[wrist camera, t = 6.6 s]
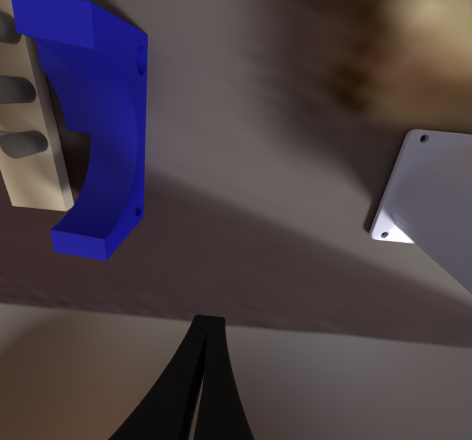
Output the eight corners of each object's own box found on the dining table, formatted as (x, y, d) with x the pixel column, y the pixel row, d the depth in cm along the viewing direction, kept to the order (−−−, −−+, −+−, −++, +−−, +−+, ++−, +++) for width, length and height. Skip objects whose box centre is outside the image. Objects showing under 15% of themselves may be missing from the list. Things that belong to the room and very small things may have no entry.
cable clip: (70, 18, 14) (-34, -27, 9) (148, 35, 15) (91, 1, 9) (87, 205, 20) (27, 246, 14) (144, 216, 20) (106, 260, 15)
